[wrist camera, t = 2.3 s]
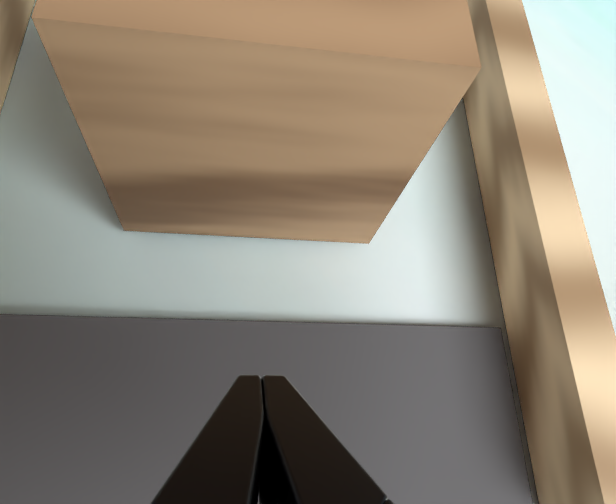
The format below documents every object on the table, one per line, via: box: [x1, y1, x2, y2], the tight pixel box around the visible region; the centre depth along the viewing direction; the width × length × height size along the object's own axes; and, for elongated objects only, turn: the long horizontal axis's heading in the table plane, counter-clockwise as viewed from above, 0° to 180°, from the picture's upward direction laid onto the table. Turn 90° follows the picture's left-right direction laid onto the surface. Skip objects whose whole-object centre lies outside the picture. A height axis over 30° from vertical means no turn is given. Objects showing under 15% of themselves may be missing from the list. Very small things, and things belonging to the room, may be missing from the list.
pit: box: [0, 314, 533, 504], centre depth 17 cm, size 7×21×1 cm, turn 91°
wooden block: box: [31, 0, 481, 244], centre depth 16 cm, size 5×10×10 cm, turn 91°
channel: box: [0, 0, 616, 504], centre depth 20 cm, size 28×26×4 cm
